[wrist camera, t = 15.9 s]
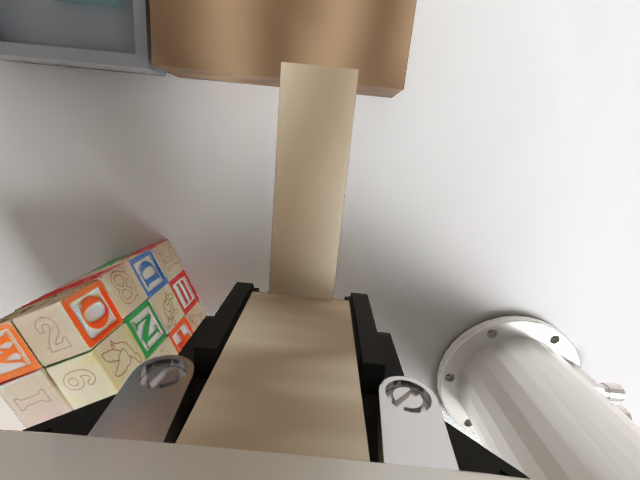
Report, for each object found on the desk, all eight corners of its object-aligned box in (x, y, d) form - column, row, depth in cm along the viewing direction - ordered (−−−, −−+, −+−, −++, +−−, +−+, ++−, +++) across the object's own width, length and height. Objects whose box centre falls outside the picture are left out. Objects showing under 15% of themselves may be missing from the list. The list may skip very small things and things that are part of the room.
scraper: (367, 86, 11) (456, -44, 3) (321, 463, 15) (315, 779, 8) (276, 78, 11) (155, -73, 3) (257, 457, 15) (186, 767, 8)
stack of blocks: (268, 427, 34) (237, 578, 22) (213, 444, 35) (154, 599, 23) (167, 236, 29) (56, 301, 17) (104, 261, 29) (-45, 340, 18)
